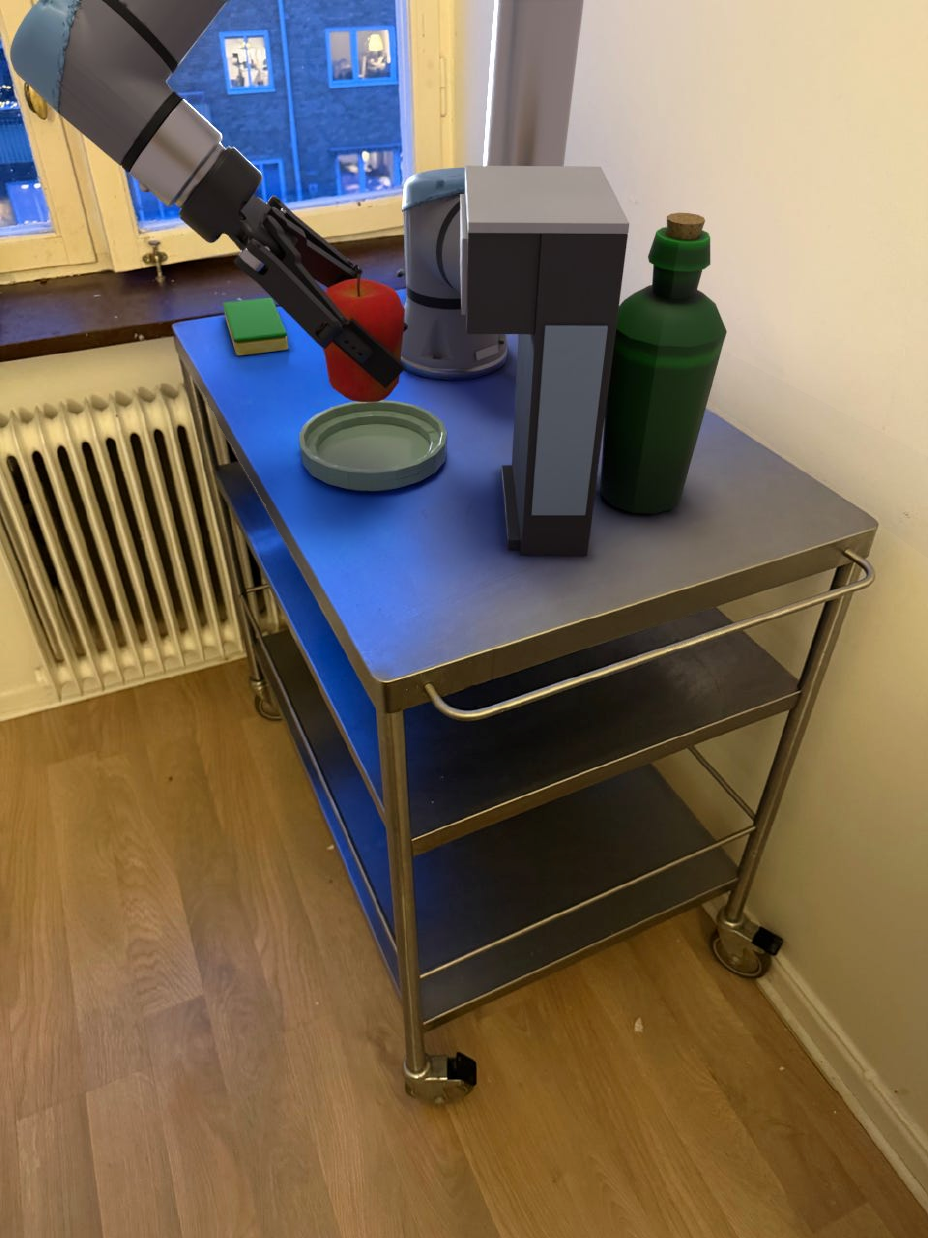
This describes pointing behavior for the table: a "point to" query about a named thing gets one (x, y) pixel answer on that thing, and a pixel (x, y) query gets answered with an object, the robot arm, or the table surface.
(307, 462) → the dish
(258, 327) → the dish sponge
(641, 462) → the bottle
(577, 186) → the coffee maker
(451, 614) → the table surface
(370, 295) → the apple
